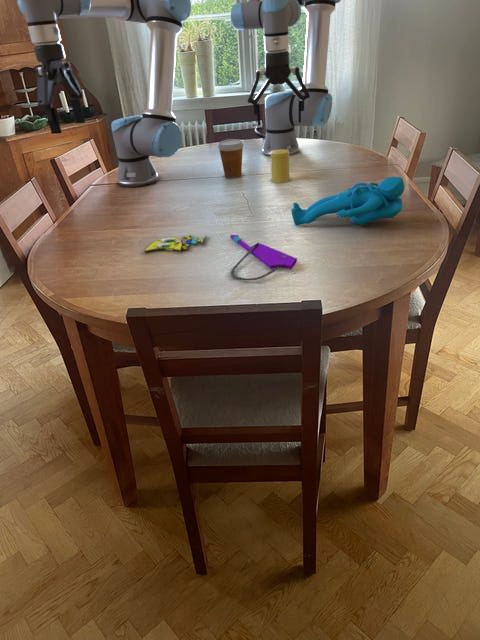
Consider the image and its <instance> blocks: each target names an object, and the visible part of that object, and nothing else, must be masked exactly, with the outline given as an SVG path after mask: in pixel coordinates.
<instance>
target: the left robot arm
mask: <svg viewBox="0 0 480 640" xmlns="http://www.w3.org/2000/svg"><path fill="white" fill-rule="evenodd" d="M17 6H18V8H19V10H20V12H21V13H22V15H23V16H24V18H25V21H26V25H27V30H28V33H29V36H30V40H31V43H32V44H33V45H34V46H33V51H34V55H35V58H36V59H35V60H36V61H37V62H38V63H41V66H36V67H35V70H34V71H35V74H36V90H37V91H36V92H37V94H36V95H37V107H38V108H40V110H44V113H45V116H46V120H47V121H48V122H47V123H48V126H49V128H50V133H51V134H52V135H53V134H57V135H58V134H62V128H61V125H60V121H59V117H58V113H57V108H56V107H54V100H55V92H56V87H57V85H58V84H59V83H60V84H61V86H62V87H63V89H64V90H65V91H66V93H67V94H68V95H69V97H70V98H71V99H70V100H69V101H70V105H71V109H72V113H73V116H74V121H75V124H85V123H86V120H85V116H84V111H83V108H82V107H83V106H82V103H81V99H84V92H83V89H82V87H81V86H80V84H79V81H78V79H77V77H76V75H75V74H74V71H73V69H72V65H71V62H70V61H63V60H65V59H66V52H65V48H64V45H63V44H62V43H60V42H61V41H62V37H61V34H60V29H59V26H58V19H116V20H117V21H118V22H119V21H120V22H132V23H140V24H146V26H147V28H148V29H149V31H150V42H149V60H148V61H149V62H148V79H147V94H146V95H147V96H146V97H147V98H146V109H145V110H144V111H143V112H142V113H141V114H136V115H130V116H125V117H121V118H118V119H115V120H113V121H112V122H111V124H110V125H111V135H112V140H113V142H114V147H115V151H116V156H117V160H118V167H117V168H118V170H117V179H116V180H117V183H118V186H120V187H123V188H124V187H125V188H136V187H137V188H138V187H145V186H147V185H148V186H149V185H151V184H154V183H156V182H157V181H158V180H159V176H158V172H157V169H156V168H155V166H154V163H153V161H152V159H151V157H156V158H170V157H172V156H174V155H175V154H176V153H177V152H178V150H179V149H180V147H181V143H182V130H181V128H180V125H178V124H177V123H176V122H177V121H176V120H177V119H176V116H175V115H174V113H173V101H174V100H173V99H174V87H175V85H174V84H175V70H176V69H175V68H176V56H177V55H176V53H177V41H178V39H177V38H178V36H179V34H181V32H183V22H186V21H187V20H188V19H189V18H190V16H191V12H192V2H191V0H17Z"/></svg>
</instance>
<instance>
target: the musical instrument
mask: <svg viewBox="0 0 480 640" xmlns="http://www.w3.org/2000/svg"><path fill="white" fill-rule="evenodd" d="M229 237H230V239H231V240H233V242H234V243H236V244H237V245H239V246H240V247H242V248H243V249H244V250H246V251H247V252H246V253H245V255H243V257H241V259H240V260H238V261H237V262H236V264H235V265H234V266H233V267H232V269H231V271H230V276H231V277H232V278H233V279H234V280H240V281H256V280H257V281H258V280H260V279H263V278H265V277H267V276H269V275H270V274H273V273H274V272H276V271H278V270H279V269H287V270H293V268H294V267H295V265H296V264H297V263H298V259H297V257H295V256H292V255H290V254H287V253H285V252H283V251H280V250H277V249H275V248H272V247H270V246H268V245H265V244H263V243H260V242H256V243H255V244H253V245H251V246H250V245H248V244H247V243H246V242H245V241H243V240H242V238H240V236H239V235H238V234H230V235H229ZM250 254H251V256H254V257H255V258H256V259H257V260H259V261H260V262H261V263H262V264H264V266H266V267H268V268H269V269H270V271H268V272H267V273H264V274H263V275H259V276H257V277H251V278H247V277H246V278H245V277H240V276H236V274H235V270H236V269H237V268H238V267H239V265H240V264H241V263H242V262H243V261H244V260H245V259H246V258H247V257H248V256H249V255H250Z"/></svg>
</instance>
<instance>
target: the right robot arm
mask: <svg viewBox="0 0 480 640" xmlns="http://www.w3.org/2000/svg"><path fill="white" fill-rule="evenodd" d="M340 2H341V0H248V1H246V2H242V1H241V2H239V3H234V4H233V5H232V7H231V9H230V21H231V25H232V27H233V29H234V30H236V31H248V30H249V31H250V30H259V29H263V45H264V47H263V48H264V52H265V53H264V63H265V64H264V68H265V69H264V70H260V69H257V70H256V71H255V79H254V82H253V85H252V87H251V90H250V93H249V95H248V98H247V103H249V104H252V106H253V115H256V116H257V117H256V118H257V123H256V122H254V123H253V124H252V126H253V127H255V128H254V132H255V134H257V135H259V136H261V137H264V141H263V144H262V154H263V155H265V156H270V157H271V151H273V150H278V149H286V150H289V156H290V155H295V154H296V153H297V154H298V152H299V151H300V149H299V148H300V147H299V143H298V139H297V137H296V133H295V127H312V128H313V127H314V128H316V127H322V126H323V127H324V126H325V125H326V124H327V123H328V121H329V119H330V116H331V113H332V110H333V109H332V108H333V95H332V94H331V93H329V88H328V87H327V85H326V78H327V77H326V76H327V65H328V51H329V39H330V26H331V15H332V13H334V12H335V11H336V4H339V3H340ZM302 7H303V10H304V12H305V13H306V15H307V17H306V32H305V33H306V34H305V47H304V48H305V49H304V61H303V62H304V65H303V77H302V76H301V74H300V67H299V66H295V67H292V68H291V67H290V52H289V51H288V50H289V49H290V47H289V45H290V43H289V27H292V26H294V25H295V24H297V23H298V22H299V20H300V19H301V15H302ZM291 74H292V75H293V76H295V77H296V79H297V81H298V83H299V86H300V87H298V88H297V86H296V85H295V84H294V83H293V82H292V81H291V80H290V78H289V77H290V75H291ZM263 76H264V77H265V79H266V81H265V83H264V84H263V85H262V87H261V89H260V90H259V92H258V93H257V95H256V96H255V98H253V97H254V95H255V93H256V90H257V88H258V84H259V82H260V79H262V78H263ZM285 83H286V85H287V86H288V87H289V88H290V89H291V90H290V89H289V90H283V91H279V92H274V93H270V94H268V95H266V97H265V98H264V114H265V116H264V117H265V134H264V133H262V132H261V133H260V132H259V131H258V128H259V127H260V126H261V107H260V102H259V101H260V99H261V98H262V96H263V95H264V94H265V93H266V91H267V89H268V88H269V86H270V85H272V86H276V85H283V84H285Z"/></svg>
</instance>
